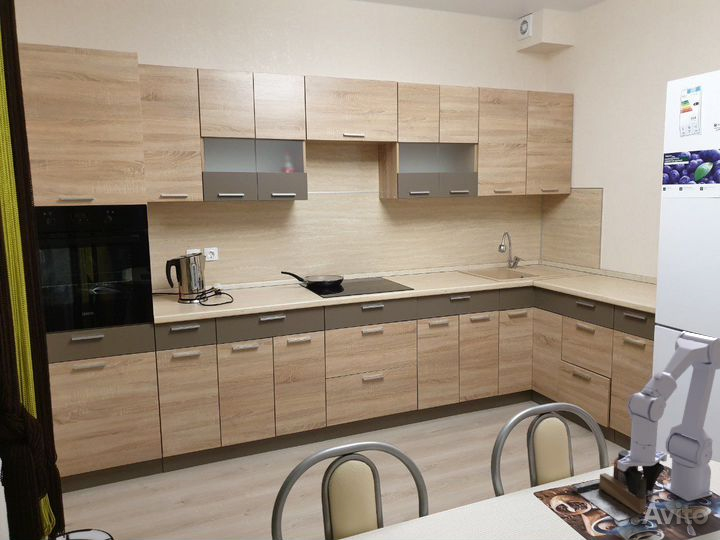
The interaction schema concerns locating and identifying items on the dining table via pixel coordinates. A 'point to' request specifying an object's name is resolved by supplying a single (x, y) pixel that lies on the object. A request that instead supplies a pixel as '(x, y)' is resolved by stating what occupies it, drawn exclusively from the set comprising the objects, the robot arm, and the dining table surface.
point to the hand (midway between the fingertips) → (640, 491)
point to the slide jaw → (625, 492)
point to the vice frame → (606, 500)
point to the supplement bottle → (617, 472)
